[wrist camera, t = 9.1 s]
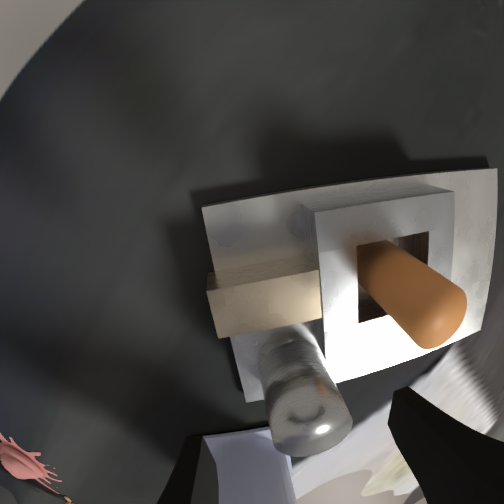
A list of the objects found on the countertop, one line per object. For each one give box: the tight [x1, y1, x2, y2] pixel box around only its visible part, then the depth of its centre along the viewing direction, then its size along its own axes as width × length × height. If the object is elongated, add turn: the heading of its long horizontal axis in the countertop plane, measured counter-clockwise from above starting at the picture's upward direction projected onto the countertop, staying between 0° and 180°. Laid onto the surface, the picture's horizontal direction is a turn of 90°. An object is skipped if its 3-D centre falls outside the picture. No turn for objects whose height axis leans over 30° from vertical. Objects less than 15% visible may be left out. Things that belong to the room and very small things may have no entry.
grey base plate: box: [202, 167, 497, 457], centre depth 16 cm, size 14×21×7 cm, turn 99°
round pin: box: [357, 240, 467, 350], centre depth 15 cm, size 3×3×7 cm
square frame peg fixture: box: [206, 185, 455, 360], centre depth 17 cm, size 9×14×2 cm, turn 99°
